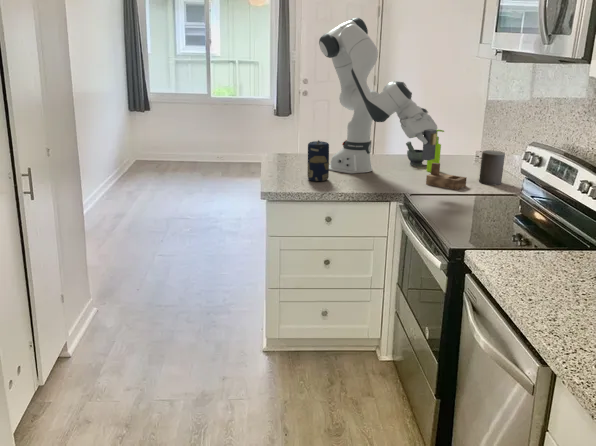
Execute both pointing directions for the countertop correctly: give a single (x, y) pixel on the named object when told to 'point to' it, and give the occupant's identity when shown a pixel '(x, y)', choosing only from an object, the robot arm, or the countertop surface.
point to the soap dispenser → (437, 154)
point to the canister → (318, 161)
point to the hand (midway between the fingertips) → (430, 142)
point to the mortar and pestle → (414, 155)
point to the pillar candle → (491, 167)
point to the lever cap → (429, 144)
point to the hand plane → (444, 179)
